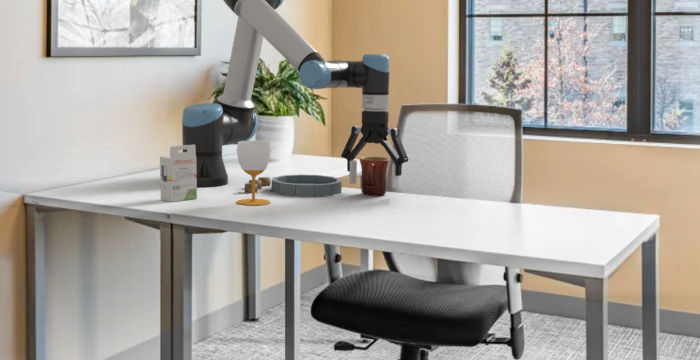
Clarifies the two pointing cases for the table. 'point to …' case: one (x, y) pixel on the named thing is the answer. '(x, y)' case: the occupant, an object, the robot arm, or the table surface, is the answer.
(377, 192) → the mug
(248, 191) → the bead
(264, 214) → the table surface
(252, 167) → the cup
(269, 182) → the bead
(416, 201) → the table surface
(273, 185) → the tray
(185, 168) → the ink box
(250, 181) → the bead
